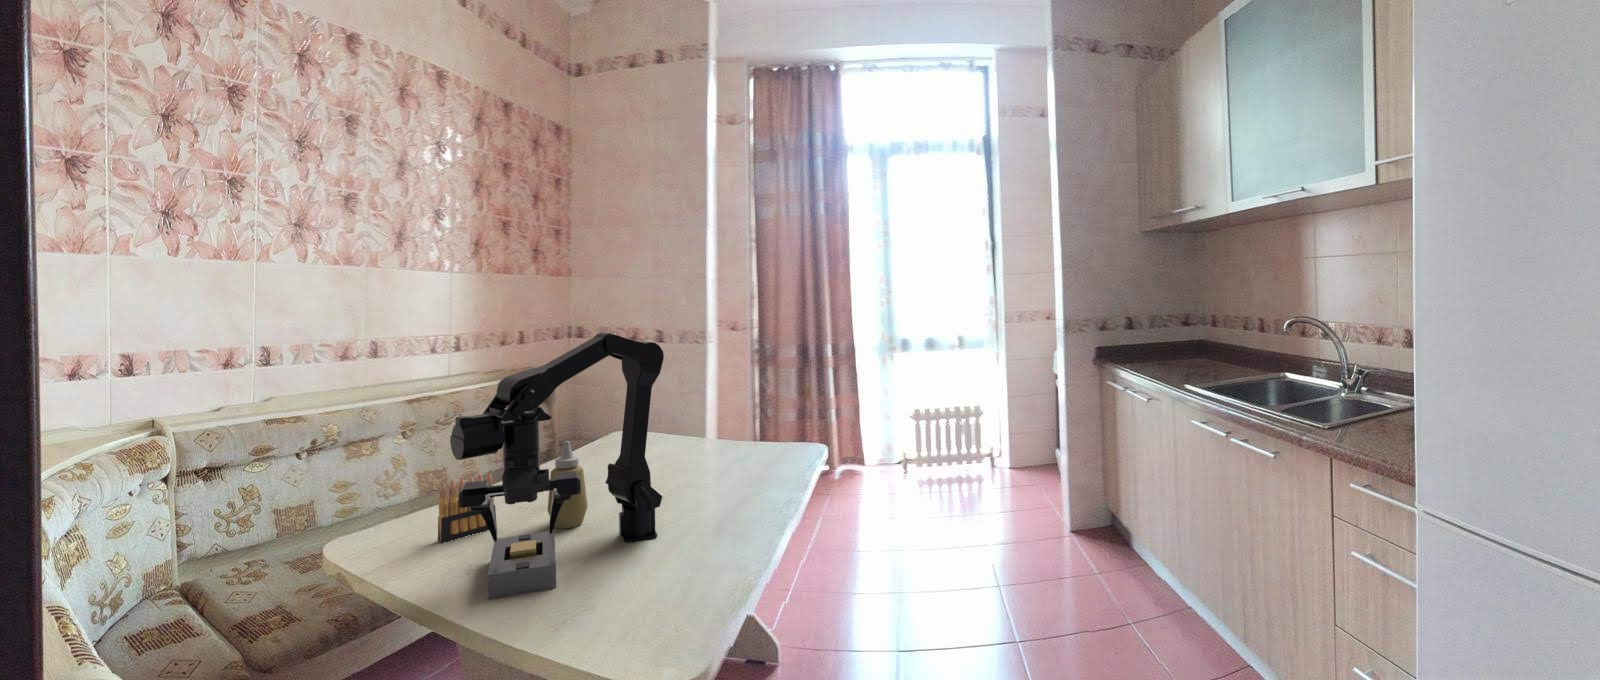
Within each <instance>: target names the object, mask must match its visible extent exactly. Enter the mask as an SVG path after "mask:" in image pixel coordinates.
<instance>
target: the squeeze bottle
mask: <svg viewBox="0 0 1600 680" xmlns="http://www.w3.org/2000/svg"><path fill="white" fill-rule="evenodd" d="M554 462H555V463H554V464H555V465H554V467H555V468H553V469H552V470H550V475H549V480H551V479H556V473H563V472H573V471H576V472H577V473H578V474H579V477H580V485H581V493H579V494H576V495H571V499H569V500H565V501H564V503H563V504H562V506H561V508H560V511H559V513H558V516H557V519H556V522H555V526H554V528H556V529H570V528H571V529H572V528H574V527H578V526H580V525H582V524H583V522H584V520H585V516H586V513H587V510H588V507H589V505H588V497H587V491H586V481H585V474H584V468H583V467H582V466H580V465H579V456H577V455H574V453H573V450H572V447H571V443H570V440H564V441H563V442H562V447H561V453H560V456H558V457H557V458H555V459H554ZM552 494H553V490H551V491H548V499H547V513H548V515H549V517H550V512H551V503H552Z"/></svg>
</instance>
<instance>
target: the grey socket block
mask: <svg viewBox="0 0 1600 680" xmlns="http://www.w3.org/2000/svg"><path fill="white" fill-rule="evenodd" d="M533 540H536V552H537V556H530V557H524V558H517V559H511V560H510V549H511V543H518V542H525V541H533ZM493 542H494V541H493ZM555 543H556V541H555V531H554V530H553V532H552V534H550V531H541V532H535V533H527V534H521V535H512V536H505V537H497V541H496V542H494V543H493V548H492V552H491V558H490V563H489V568H488V573H487V587H488V588H487V590H488V591H487V593H488V594H487V596H488V597H487V598H488V600H489V601H490V600H493V599H500V598H506V597H511V596H517V595H522V594H528V593H534V592H539V591H544V590H546V591H547V590H551V589H557V568H556V567H557V561H556V545H555Z"/></svg>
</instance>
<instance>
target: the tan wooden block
mask: <svg viewBox="0 0 1600 680" xmlns="http://www.w3.org/2000/svg"><path fill="white" fill-rule="evenodd" d="M530 556H537V552H536V540H533V541H525V542H518V543H511V549H510V560H511V559H517V558H524V557H530Z"/></svg>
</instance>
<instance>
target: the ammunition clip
mask: <svg viewBox="0 0 1600 680" xmlns="http://www.w3.org/2000/svg"><path fill="white" fill-rule="evenodd" d="M486 480H488V485H489V486H494V485H493V478H492V474H491V472H487V475H486ZM486 480H485V481H486ZM477 481H484V480H483V476H482V475H481V473H480V474H479V475H478V476H477ZM467 482H475V481H474V478H473V476H472V475H471V476H469V478H468V481H467ZM449 483H450V484H449V488H448V492H449V495H447V493H448V492H447V487H446V484H445V482H444V481H442V482H441V484H440V487H439V501H438V516H437V517H438V521H437V522H438V523H437V542H439V543H440V544H442V543H443V544H445V543H444V542H446V543H449V542H448V541H450V542H452V541H451V540H453V541H456V540H455V539H457V540H459V539H458V538H460V539H463V538H462V537H464V538H466V537H465V536H468V535H471V536H473V535H472V534H475V535H477V534H476V533H478V534H481V533H480V532H482V533H485V532H488V531H487V530H489V528H488V526H487V524H486V522H485V520H484V518H483V517H482V515H481V514H480V513H479V512H478V511H471V510H470V507H465V508H461V507H459V493H460V490H461V488H462V486H463V485H464V484H465V483H466V482H465V480H464V478H462V477H460V480H459V483H458V497H457V486H456V483H455V481H454V479H451V480H450V482H449ZM492 498H493V504H494V511H495V518H496V519H497V515H496V514H497V513H496V504H495V497H492ZM497 523H498V522H496V525H497ZM484 531H485V532H484ZM468 537H469V536H468Z"/></svg>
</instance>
